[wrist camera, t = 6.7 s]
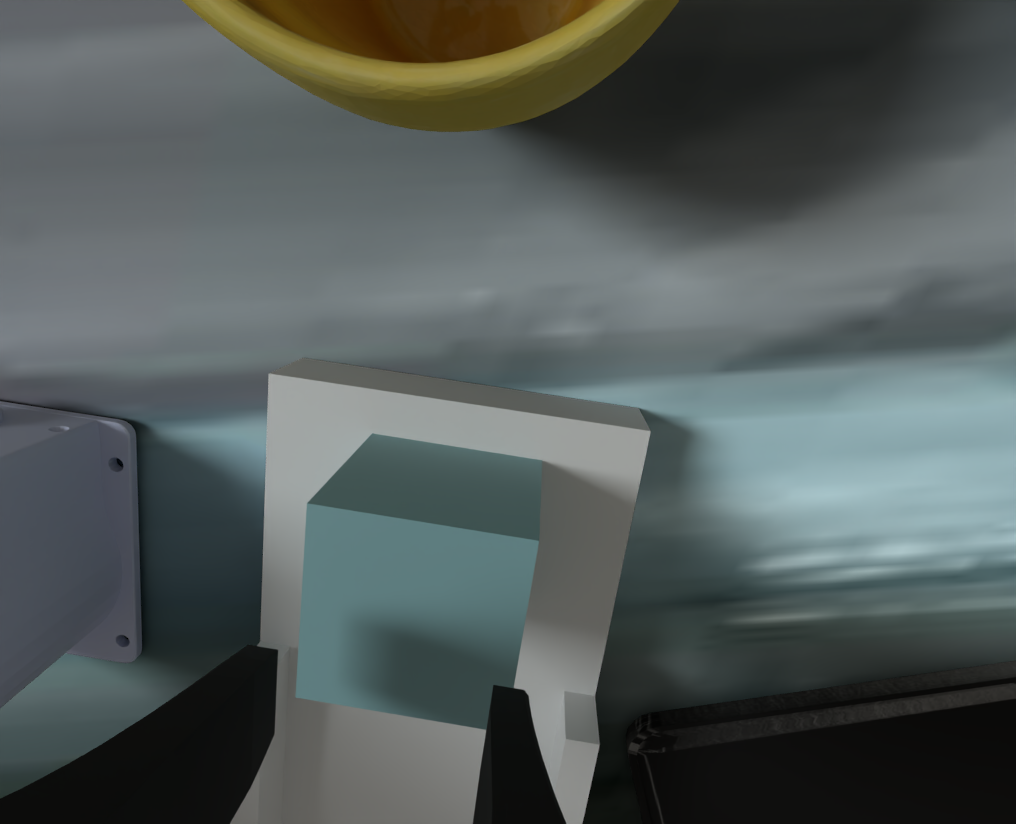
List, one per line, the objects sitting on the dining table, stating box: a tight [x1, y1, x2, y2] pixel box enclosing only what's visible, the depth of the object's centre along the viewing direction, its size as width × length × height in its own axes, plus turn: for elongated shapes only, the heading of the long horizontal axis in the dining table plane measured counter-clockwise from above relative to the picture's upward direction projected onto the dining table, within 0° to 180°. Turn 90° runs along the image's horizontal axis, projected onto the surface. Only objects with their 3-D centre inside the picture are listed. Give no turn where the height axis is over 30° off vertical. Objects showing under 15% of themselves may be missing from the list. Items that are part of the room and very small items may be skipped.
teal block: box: [296, 433, 542, 730], centre depth 16 cm, size 5×5×5 cm
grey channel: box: [230, 358, 651, 824], centre depth 21 cm, size 22×11×4 cm, turn 172°
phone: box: [626, 661, 1016, 824], centre depth 23 cm, size 8×1×15 cm
